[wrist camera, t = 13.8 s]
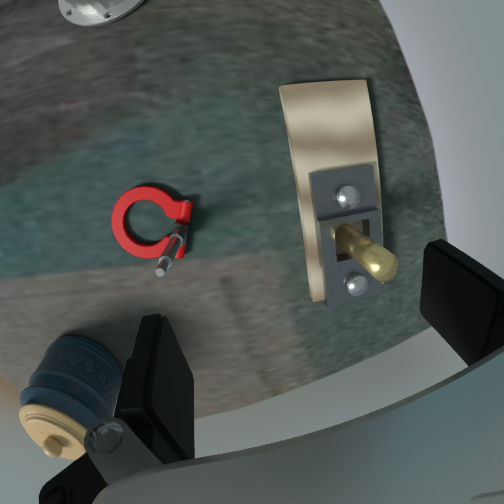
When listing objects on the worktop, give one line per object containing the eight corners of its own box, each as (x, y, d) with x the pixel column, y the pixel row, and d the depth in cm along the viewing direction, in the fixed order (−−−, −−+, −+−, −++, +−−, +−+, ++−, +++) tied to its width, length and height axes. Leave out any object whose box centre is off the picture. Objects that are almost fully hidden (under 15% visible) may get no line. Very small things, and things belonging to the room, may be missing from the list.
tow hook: (112, 248, 36) (184, 262, 37) (65, 297, 24) (164, 320, 25) (118, 180, 33) (196, 192, 34) (65, 202, 21) (177, 222, 22)
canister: (41, 365, 40) (0, 443, 24) (63, 316, 38) (9, 403, 21) (106, 405, 44) (83, 490, 28) (138, 364, 42) (115, 464, 25)
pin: (333, 226, 36) (372, 256, 26) (355, 221, 36) (398, 250, 26) (336, 248, 37) (372, 284, 27) (357, 243, 37) (398, 277, 27)
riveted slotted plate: (307, 173, 33) (316, 177, 30) (369, 164, 33) (381, 167, 31) (322, 299, 39) (330, 312, 36) (375, 285, 39) (385, 296, 37)
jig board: (278, 87, 31) (281, 85, 29) (360, 81, 31) (365, 79, 30) (310, 296, 40) (313, 302, 39) (378, 279, 41) (383, 283, 39)
